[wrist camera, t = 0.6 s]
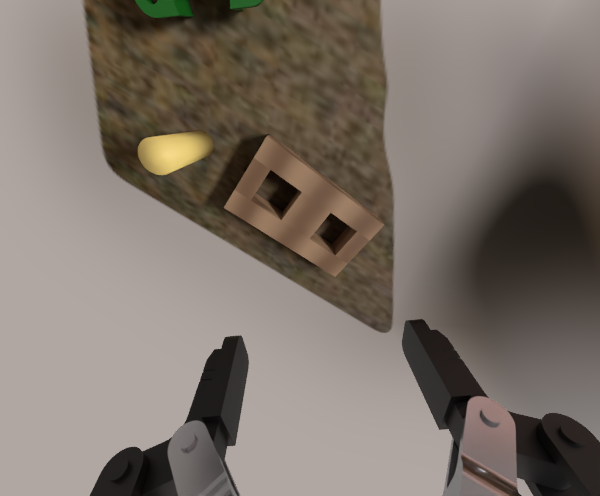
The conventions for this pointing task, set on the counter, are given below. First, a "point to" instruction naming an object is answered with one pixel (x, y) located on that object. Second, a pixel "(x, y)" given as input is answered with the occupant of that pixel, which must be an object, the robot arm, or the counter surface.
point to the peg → (174, 151)
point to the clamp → (184, 7)
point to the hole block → (302, 208)
